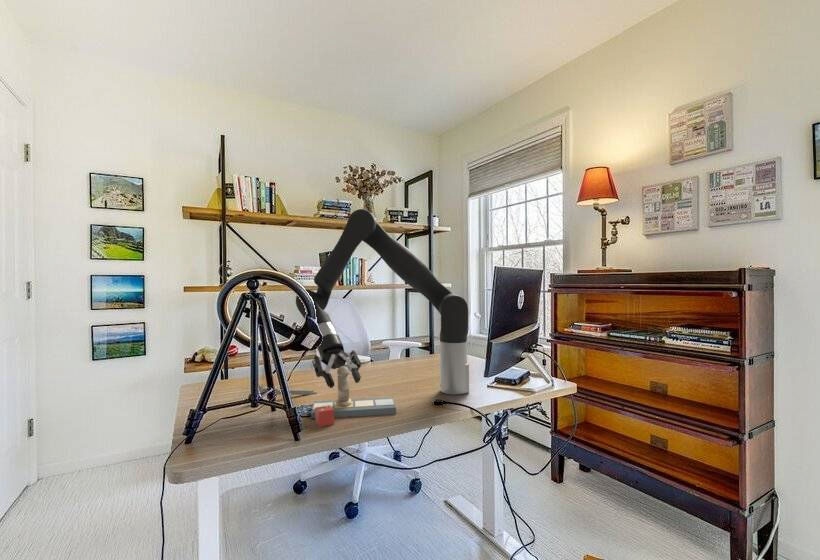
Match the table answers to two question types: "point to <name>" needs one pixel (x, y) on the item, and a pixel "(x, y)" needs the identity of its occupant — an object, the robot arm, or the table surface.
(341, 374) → the pawn
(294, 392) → the caliper
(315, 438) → the table surface
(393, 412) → the board
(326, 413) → the die
